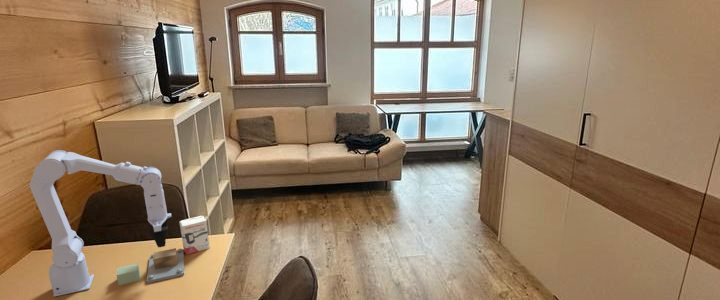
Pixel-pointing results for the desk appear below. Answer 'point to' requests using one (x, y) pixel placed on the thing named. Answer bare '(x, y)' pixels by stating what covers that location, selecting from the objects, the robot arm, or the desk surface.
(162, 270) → the baseplate
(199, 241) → the ink box
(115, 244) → the desk surface
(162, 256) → the walnut brick
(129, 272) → the sage brick
